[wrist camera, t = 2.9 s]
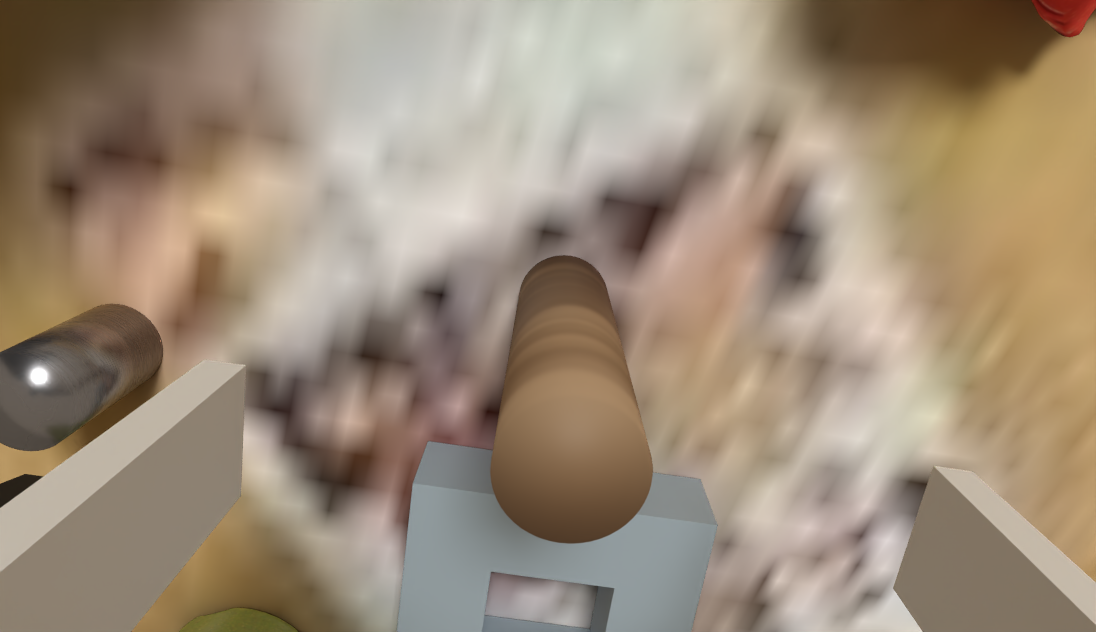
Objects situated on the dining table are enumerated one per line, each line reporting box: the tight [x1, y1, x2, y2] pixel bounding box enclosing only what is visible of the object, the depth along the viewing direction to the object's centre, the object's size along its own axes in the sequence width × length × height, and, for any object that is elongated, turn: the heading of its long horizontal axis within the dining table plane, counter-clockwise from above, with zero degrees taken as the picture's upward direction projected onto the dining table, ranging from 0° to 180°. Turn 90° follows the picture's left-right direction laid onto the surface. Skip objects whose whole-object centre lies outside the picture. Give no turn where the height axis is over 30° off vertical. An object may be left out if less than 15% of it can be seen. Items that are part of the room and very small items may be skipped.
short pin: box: [0, 304, 163, 451], centre depth 23 cm, size 3×3×5 cm
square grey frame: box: [397, 441, 718, 632], centre depth 27 cm, size 10×10×3 cm
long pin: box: [490, 255, 653, 544], centre depth 19 cm, size 3×3×12 cm
